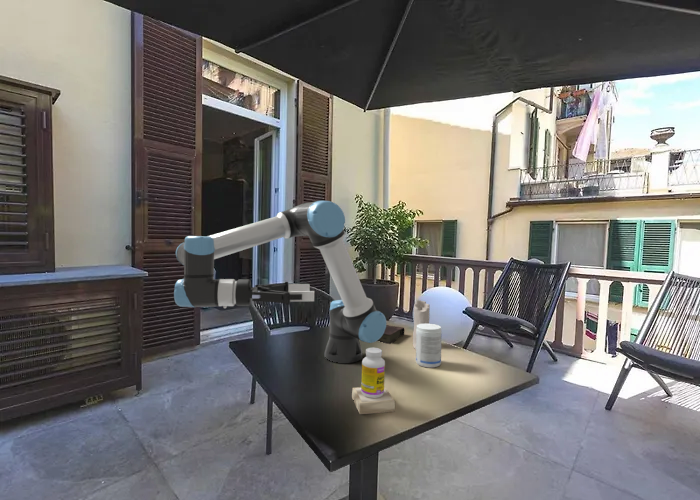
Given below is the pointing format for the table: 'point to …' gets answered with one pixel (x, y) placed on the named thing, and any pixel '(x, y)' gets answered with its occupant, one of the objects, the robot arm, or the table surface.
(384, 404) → the birch plinth
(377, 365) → the supplement bottle
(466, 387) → the table surface
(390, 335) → the diary
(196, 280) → the robot arm
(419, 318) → the candle
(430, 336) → the supplement tub
